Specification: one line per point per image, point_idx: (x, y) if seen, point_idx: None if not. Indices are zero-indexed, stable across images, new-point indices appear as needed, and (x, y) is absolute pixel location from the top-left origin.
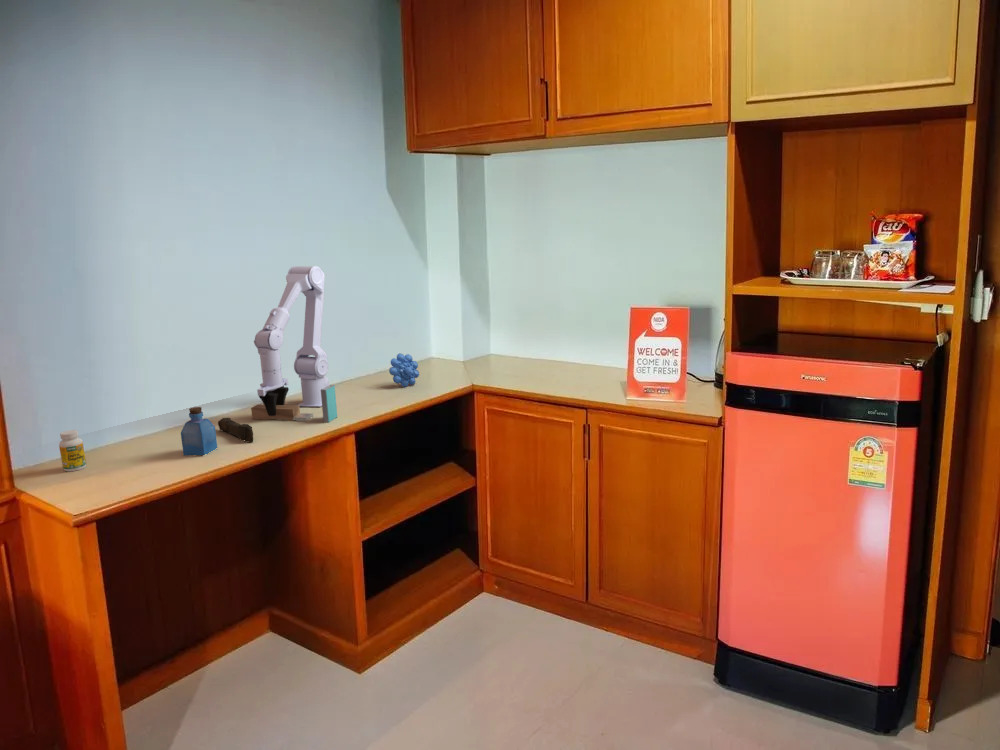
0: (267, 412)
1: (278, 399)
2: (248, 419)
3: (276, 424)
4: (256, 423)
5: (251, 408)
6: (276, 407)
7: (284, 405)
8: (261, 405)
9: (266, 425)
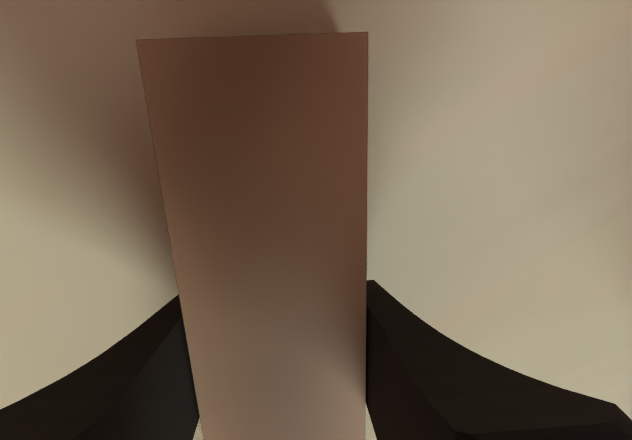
0: (163, 307)
1: (391, 420)
2: (156, 5)
3: None
4: (48, 210)
5: (143, 45)
6: (251, 398)
7: (355, 431)
8: (314, 135)
9: (30, 343)
